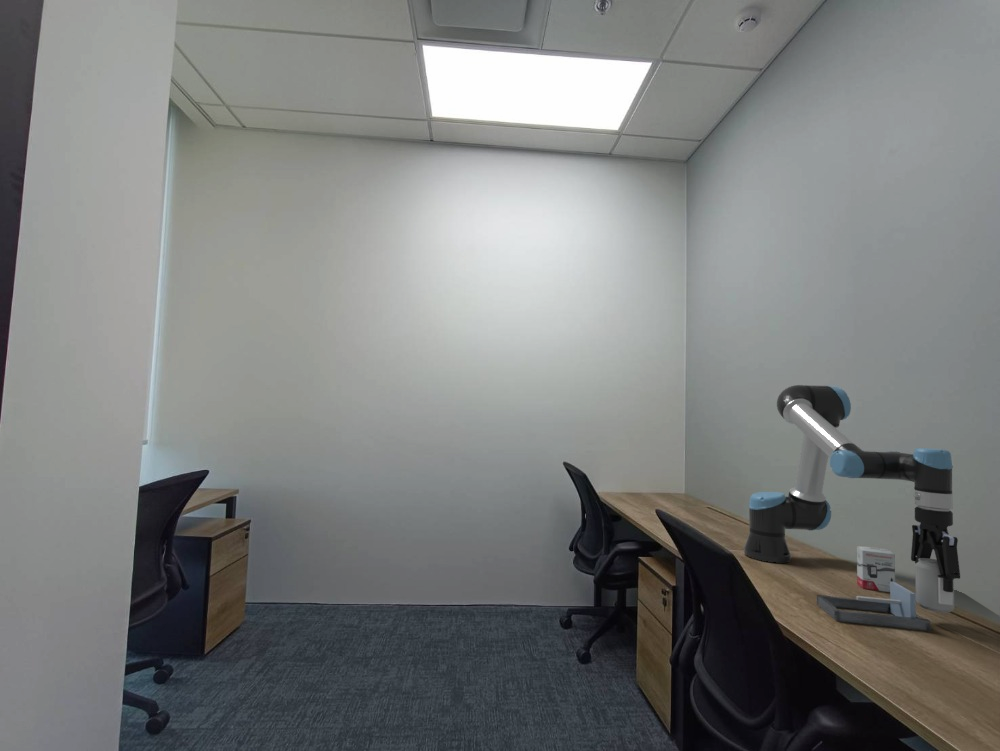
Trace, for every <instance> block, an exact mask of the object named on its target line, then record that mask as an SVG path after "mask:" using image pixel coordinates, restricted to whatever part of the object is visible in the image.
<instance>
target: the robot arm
mask: <svg viewBox="0 0 1000 751" xmlns="http://www.w3.org/2000/svg"><path fill="white" fill-rule="evenodd" d="M851 406H852V404H851V400H850V397H849V396H848V394H847V392H846V391H845V390H843V389H842V388H840V387H838V386H831V385H807V384H806V385H803V384H796V385H791V386H789V387H786V388H785V389H783V390H782V391H781V392H780V394H779V395H778V397H777V400H776V407H777V408H776V409H777V411H778V413H779V414H780V416H781V417H782V419H784V421H785V422H788V423H789V424H792V425H793V424H794V425H795V426H796V427H797V428H798V429H799V430H800V431H801V432H802V433H803V435H802V439H801V440H802V442H801V446H800V453H799V460H798V465H797V472H796V477H795V483H794V486H792V487H791V488H790V489H789V490H788V495H787V496H786V495H785V493H783V492H779V491H758V492H754V493H752V494H751V495H750V496H749V502H748V503H749V504H748V508H749V510H748V513H749V514H748V515H749V521H748V522H749V524H748V525H749V526H748V527H749V530H748V531H749V532H748V535H747V539H746V541H745V544H744V547H743V548H744V549H743V554H744V553H745V554H746V555H748V556H750V557H752V558H751V559H753V558H755V559H754V560H757V559H758V560H757V561H761V560H762V562H766V561H768V562H767V563H773V562H776V564H783V563H784V564H787V563H789V562H791V551H790V548H789V546H788V543H787V539H786V530H804V531H820V530H823V529H825V528H826V527H828V525H829V523H830V522H831V519H832V510H830V509H831V505H830V503H829V502H828V501H827V496H826V495H824V493H823V488H824V482H825V477H826V473H827V472H826V471H827V467H828V461H829V466H830V468H831V469H832V470H831V471H832V473H833V474H834V475H836V476H837V477H842V478H849V479H877V480H880V479H881V480H899V481H905V482H906V481H908V482H914V486H913V489H914V494H913V497H914V504H915V505H916V506H915V507H914V520H915V521H916V522H917V523H920V524H918V525H917V524H913V525H911V530H912V540H911V541H912V542H911V544H912V545H911V554H910V560H911V562H914V565H915V564H916V563H917V562H919V560H918V559H919V558H929V559H931V558H932V557H931V556H932V554H933V551H934V554H935V558H936V560H937V563H938V567H939V571H940V575H937V576H938V603H940V604H946V605H953V579H954V580H955V579H957V580H959V579H961V571H960V563H959V554H958V541H959V539H958V537H956V536H951V535H949V530H948V527H952V526H953V525H954V516H953V514H954V513H953V512H952V509H954V503H953V502H954V500H953V468H954V466H953V463H952V453H951V452H950V451H949V450H946V449H942V448H929V447H928V448H926V447H916V448H914V449H913V450H914V451H913V454H912V453H906V452H905V453H904V452H900V451H867V450H866V451H865V450H862V449H861V448H860V447H859V446H857V444H855V443H854V442H853V441H852V440H850V439H849V438H848V437H847V436H846V435H845V434H843V433H842V432H841V431H840V430H839V429H838V428H840V422H841V421H844V420H845V419H847V418H848V417H849V416H850V414H851V410H852V407H851ZM745 554H744V555H745ZM746 555H745V556H746ZM748 556H747V557H748ZM750 557H749V558H750ZM786 562H787V563H786Z"/></svg>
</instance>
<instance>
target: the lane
mask: <svg viewBox="0 0 1000 751" xmlns="http://www.w3.org/2000/svg"><path fill="white" fill-rule="evenodd" d="M816 605H818V607H819V608H821V609H822V610H823V611H824V612H825V613H827V615H829V616H830V618H832V619H833V620H834V621H836V622H839V623H841V622H842V623H849V624H861V625H868V626H875V627H876V626H877V627H887V628H895V629H906V630H912V631H913V630H914V631H915V630H916V631H923V632H925V631H926V632H931V630H932V629H931V626H932V625H931V622H932V621H931V620H930V619H927V618H923V617H921V616H920V615H918V614H917V613H916V618H910V617H900V616H895V615H891V614H892V613H891V612H890V603H880V602H870V601H860V600H857V599H856V598H854V597H853V598H852V597H841V596H831V595H821V594H816ZM838 608H840V609H838ZM842 609H849V610H842ZM851 610H857V611H851ZM862 611H869V612H879V614H878V613H869V612H862ZM881 613H888V614H889V615H888V614H881Z"/></svg>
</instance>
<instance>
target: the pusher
mask: <svg viewBox="0 0 1000 751" xmlns="http://www.w3.org/2000/svg"><path fill="white" fill-rule="evenodd" d="M889 593H890V594H889V598H882V597H872V596H861V595H855V599H857V600H860V601H870V602H880V603H890V612H891V613H890V614H892V615H893V616H900V617H910V618H916V614H917V606H916V605H917V604H916V603H917V602H916V592H913V591H911V590H910V589H908V588H906V587H904V586H902V585H900V584H899V583H897V582H896V581H895V582H890V592H889Z"/></svg>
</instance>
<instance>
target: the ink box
mask: <svg viewBox="0 0 1000 751" xmlns="http://www.w3.org/2000/svg"><path fill="white" fill-rule="evenodd" d="M856 572H857V573H856V574H857V576H856V577H857V578H856V580H857V582H856V584H857V585H858V586H859V587H860V588H862V590H871V591H877V592H885V593H890V582H895V583H896V554H895V553H893V552H892V551H891V550H890V549H887V548H886V549H885V548H878V547H872V546H861V545H859V546H857V547H856Z"/></svg>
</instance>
